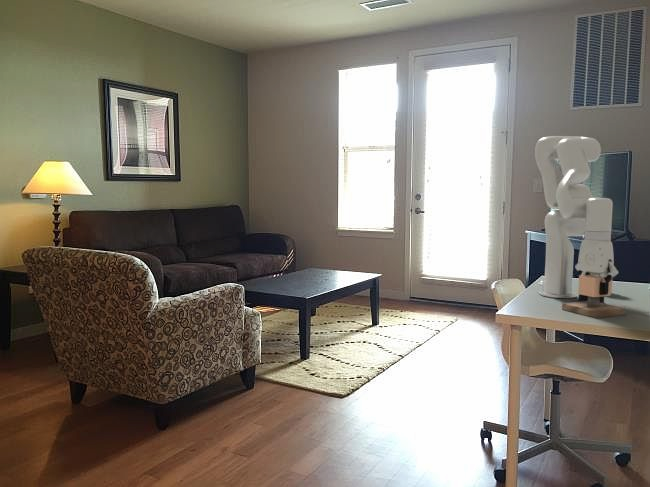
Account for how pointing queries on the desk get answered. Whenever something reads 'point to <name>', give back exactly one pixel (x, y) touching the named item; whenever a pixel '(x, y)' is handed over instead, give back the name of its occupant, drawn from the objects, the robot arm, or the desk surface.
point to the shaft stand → (593, 308)
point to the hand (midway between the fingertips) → (594, 292)
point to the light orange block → (591, 285)
